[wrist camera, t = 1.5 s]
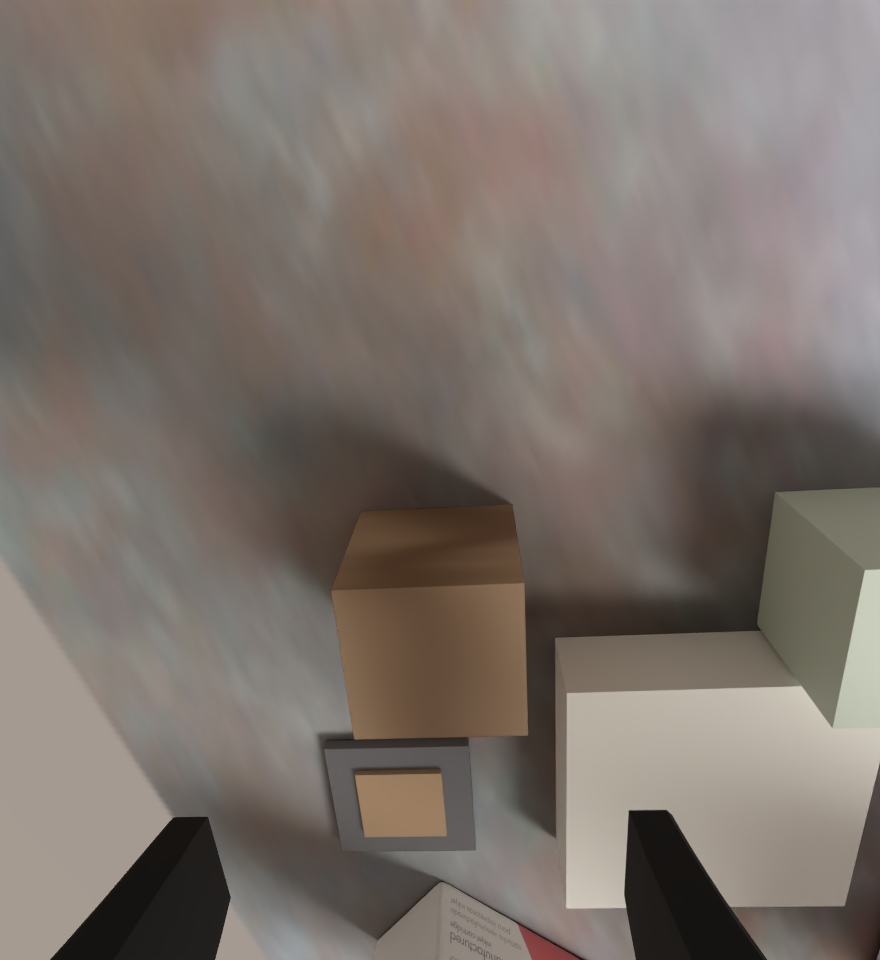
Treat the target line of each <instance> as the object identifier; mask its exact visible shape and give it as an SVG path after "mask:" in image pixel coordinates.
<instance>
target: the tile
mask: <svg viewBox="0 0 880 960" xmlns="http://www.w3.org/2000/svg"><path fill="white" fill-rule="evenodd" d="M324 753H325V758H326V764H327V769H328V775H329V781H330V786H331V792H332V797H333V803H334V808H335V814H336V820H337V825H338V831H339V836H340V842H341V847H342V852H375V851H465V850H476V840H475V825H474V811H473V796H472V781H471V767H470V752H469V738H425V739H381V740H337V741H326V744H325V747H324Z"/></svg>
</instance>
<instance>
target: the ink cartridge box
mask: <svg viewBox="0 0 880 960" xmlns="http://www.w3.org/2000/svg"><path fill="white" fill-rule="evenodd" d="M373 960H580V959H578V958H576V957H575V956H573V955H572V954H570V953H568V952H566V951H564V950H562V949H561V948H559V947H557V946H555V945H554V944H552V943H550V942H548V941H547V940H545V939H543V938H541V937H540V936H538V935H536V934H534V933H533V932H531V931H529V930H528V929H526V928H524V927H522V926H520V925H519V924H517V923H515V922H514V921H512V920H510V919H508V918H507V917H505V916H503V915H501V914H500V913H498V912H496V911H494V910H492V909H491V908H489V907H487V906H485V905H484V904H482V903H480V902H479V901H477V900H475V899H473V898H471V897H470V896H468V895H466V894H465V893H463V892H461V891H459V890H458V889H456V888H454V887H452V886H451V885H449V884H447V883H444V882H440V883H438V884H437V885H436V886H435V887H434V888H433V889H432V890H431V891H430V892H429V893H428V894H427V895H425V896H424V897H423V898H422V899H421V900H420V901H419V902H418V903H417V904H416V905H415V906H414V907H413V908H412V909H411V910H410V911H409V912H408V913H407V914H406V915H405V916H403V917H402V918H401V919H400V920H399V921H398V922H397V923H396V924H395V925H394V926H393V927H392V928H391V929H390V930H388V931H387V932H386V933H385V934H384V935H383V936H382V937H381V938H380V939H379V940H378V941H377V944H376V947H375V953H374V959H373Z"/></svg>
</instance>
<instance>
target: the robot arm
mask: <svg viewBox="0 0 880 960" xmlns="http://www.w3.org/2000/svg"><path fill="white" fill-rule="evenodd" d="M624 897H625V903H626V908H627V914H628V919H629V925H630V930H631V936H632V941H633V946H634V951H635V956H636V960H767V959H766V957H765V956H764V955H763V953H762V952H761V950H760V949H759V948H758V946H757V945H756V943H755V942H754V941H753V939H752V938H751V936H750V935H749V934H748V932H747V931H746V929H745V928H744V926H743V925H742V924H741V922H740V921H739V919H738V918H737V917H736V915H735V914H734V912H733V911H732V909H731V908H730V906H729V905H728V903H727V902H726V900H725V899H724V898H723V896H722V895H721V893H720V891H719V890H718V888H717V887H716V885H715V884H714V882H713V881H712V879H711V878H710V876H709V875H708V873H707V872H706V870H705V868H704V867H703V865H702V864H701V862H700V861H699V859H698V857H697V856H696V854H695V853H694V851H693V849H692V848H691V846H690V844H689V843H688V841H687V839H686V838H685V836H684V834H683V833H682V831H681V829H680V828H679V826H678V824H677V822H676V821H675V819H674V817H673V815H672V814H671V813H669V812H668V811H667V810H629V815H628V833H627V851H626V869H625V886H624ZM230 898H231V897H230V893H229V890H228V886H227V883H226V879H225V876H224V872H223V869H222V865H221V862H220V858H219V855H218V851H217V848H216V844H215V841H214V837H213V833H212V830H211V826H210V823H209V819H208V817H174V818H173V819H172V820H171V821H170V822H169V823H168V824H167V826H166V827H165V828H164V829H163V830H162V831H161V832H160V834H159V835H158V836H157V837H156V838H155V840H154V841H153V842H152V843H151V844H150V845H149V847H148V848H147V849H146V850H145V851H144V853H143V854H142V855H141V856H140V857H139V858H138V860H137V861H136V862H135V863H134V864H133V865H132V867H131V868H130V869H129V870H128V871H127V873H126V874H125V875H124V876H123V877H122V878H121V880H120V881H119V882H118V883H117V885H115V887H114V888H113V889H112V890H111V891H110V892H109V894H108V895H107V896H106V897H105V898H104V900H103V901H102V902H101V903H100V904H99V905H98V907H97V908H96V909H95V910H94V911H93V912H92V913H91V914H90V916H89V917H88V918H87V919H86V920H85V921H84V922H83V923H82V925H81V926H80V927H79V928H78V929H77V930H76V931H75V932H74V934H73V935H72V936H71V937H70V938H69V939H68V940H67V942H66V943H65V944H64V945H63V946H62V947H61V948H60V949H59V950H58V952H57V953H56V954H55V955H54V956H53V957H52V958H51V959H50V960H215V958H216V954H217V950H218V946H219V943H220V939H221V935H222V931H223V927H224V923H225V918H226V915H227V910H228V906H229V902H230ZM877 960H880V950H879V953H878V957H877Z"/></svg>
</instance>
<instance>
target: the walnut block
mask: <svg viewBox="0 0 880 960" xmlns="http://www.w3.org/2000/svg"><path fill="white" fill-rule="evenodd" d="M331 593H332V600H333V606H334V613H335V619H336V626H337V632H338V639H339V645H340V651H341V658H342V664H343V671H344V677H345V684H346V690H347V696H348V703H349V709H350V716H351V722H352V729H353V735H354V739H399V738H443V737H487V736H528V712H527V670H526V628H525V585H524V577H523V571H522V564H521V558H520V551H519V545H518V538H517V532H516V525H515V519H514V513H513V506H512V504H507V505H486V506H465V507H443V508H422V509H400V510H379V511H361V512H360V515H359V518H358V520H357V523H356V526H355V528H354V531H353V534H352V536H351V539H350V542H349V544H348V547H347V550H346V552H345V555H344V558H343V560H342V563H341V566H340V568H339V571H338V573H337V576H336V579H335V581H334V584H333V587H332V589H331Z"/></svg>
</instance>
